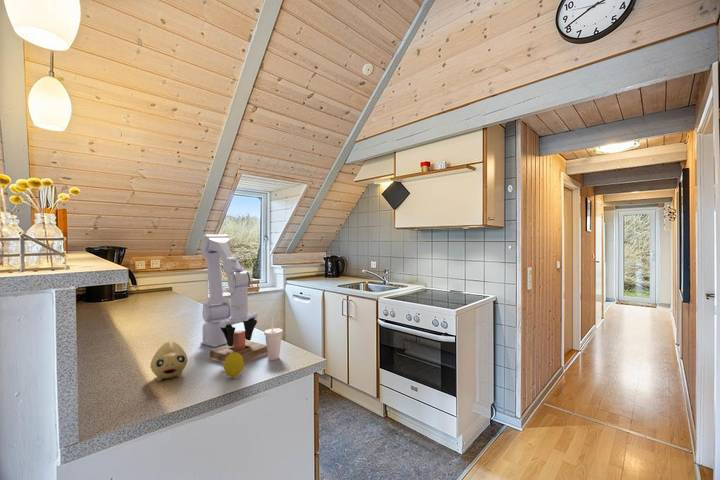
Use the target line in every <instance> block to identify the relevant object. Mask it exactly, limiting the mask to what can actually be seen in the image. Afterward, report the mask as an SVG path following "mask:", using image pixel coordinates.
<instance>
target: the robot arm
mask: <svg viewBox="0 0 720 480" xmlns="http://www.w3.org/2000/svg"><path fill="white" fill-rule="evenodd" d="M200 250H201V251H200V252H201V255H202V256H203V257H205V260H206V269H207V281H208V291H209V298H207V299H206V300H205V301H204V302H203V303H202V319H203V321H204V323H203V325H202V341H201V342H200V344H201V345H206V346H209V347H212V348H218V347H221V346H224V345H228V346H231V347H232V346H233V342H234V332H236V327H234V326H233V325H236V324H240V323H243V326H244V331H245V340H247V341H251V340H252V337H253V332H254V329H255V327H256V325H257V324H258V320H257V319H258V313H256V312H253V313H248V307H249V306H248V301H249V299H248V287H249V286H250V285H251V275H250V272H249V271H248V270H246V269H244V268H243V267H242V266H241V263H240V262H239V260H238V258H236V257H234V256H233V254H232V251H231V239H230V236H229V234H207V233H206V234H203V235H202V237H201V239H200ZM220 259H222V268H223V270H224V272H225V274H226V276H227V280H226V281H227V286H228V293H229V294H230V300H229V299H228V298H226V297H225V296H224V295H223V294H224V293H223V284H222V274H221V273H222V272H221V263H220Z"/></svg>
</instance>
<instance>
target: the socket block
mask: <svg viewBox="0 0 720 480" xmlns="http://www.w3.org/2000/svg"><path fill="white" fill-rule="evenodd" d="M232 352H236V353H239V354H240V355H241V356H242V358H243V362H244V364H246V363H249V362H251V361H253V360H254V361H255V360H256V359H259V358H261V357H263V356H266V355H268V352H267V345H266V344H262V343H259V342H255V341H251V340H250V341H249V340H246V339H245V349H244V350H241V351H234V350H233V346H232V347H231V346H228V345H227V344H224V345H220V346H217V347H214V348H212V349H210V350H209V359H210V360H212V361H216V362H219V363H223V364H224V362H225V359H226V357H227V356H228V355H229V354H231V353H232Z"/></svg>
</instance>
